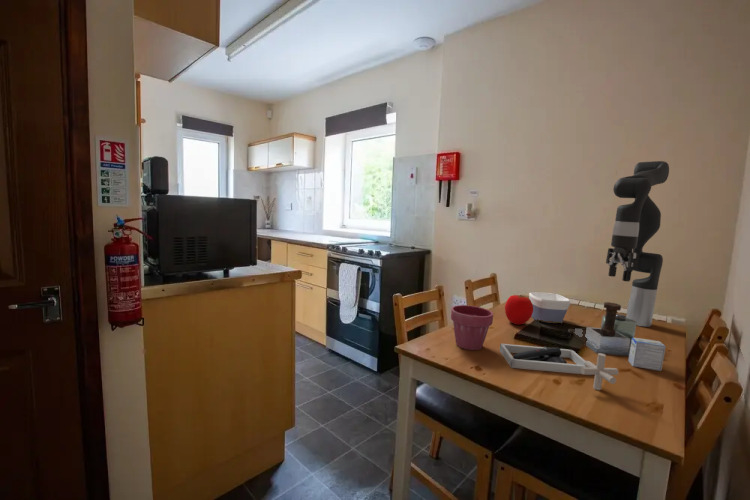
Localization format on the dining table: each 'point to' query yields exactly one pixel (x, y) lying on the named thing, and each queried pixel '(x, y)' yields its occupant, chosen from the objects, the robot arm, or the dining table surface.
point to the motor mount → (611, 344)
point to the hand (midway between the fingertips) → (618, 278)
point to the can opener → (542, 355)
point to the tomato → (518, 309)
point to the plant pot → (471, 325)
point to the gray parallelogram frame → (542, 365)
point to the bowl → (549, 306)
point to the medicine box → (646, 354)
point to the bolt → (610, 319)
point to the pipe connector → (599, 371)
